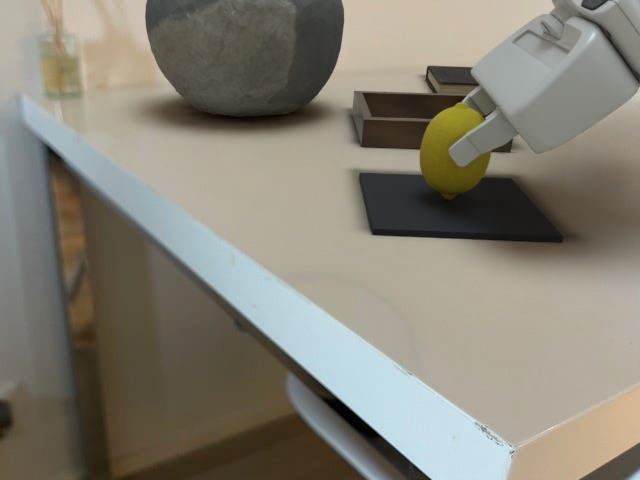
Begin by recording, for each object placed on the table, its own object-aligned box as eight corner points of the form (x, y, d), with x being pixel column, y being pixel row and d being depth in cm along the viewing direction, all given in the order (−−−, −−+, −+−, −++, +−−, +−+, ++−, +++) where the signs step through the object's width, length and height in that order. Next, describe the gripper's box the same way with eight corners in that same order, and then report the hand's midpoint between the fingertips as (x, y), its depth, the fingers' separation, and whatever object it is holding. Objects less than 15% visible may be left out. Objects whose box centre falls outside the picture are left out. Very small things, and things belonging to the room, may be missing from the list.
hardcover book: (601, 104, 94) (605, 88, 93) (436, 98, 97) (438, 81, 96) (568, 84, 108) (571, 70, 107) (425, 79, 111) (427, 64, 110)
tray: (476, 118, 85) (480, 94, 84) (510, 152, 71) (516, 124, 70) (352, 114, 86) (354, 90, 85) (361, 146, 72) (363, 119, 71)
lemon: (494, 209, 54) (512, 108, 50) (429, 212, 53) (443, 111, 49) (464, 187, 58) (479, 94, 55) (404, 190, 58) (415, 96, 54)
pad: (510, 183, 61) (511, 177, 61) (562, 242, 49) (564, 236, 49) (359, 177, 62) (359, 172, 62) (372, 234, 50) (372, 228, 50)
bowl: (157, 137, 74) (150, -10, 67) (144, 94, 95) (138, -21, 88) (365, 130, 79) (378, -8, 72) (309, 90, 100) (315, -19, 93)
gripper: (548, -20, 56) (415, 92, 62) (632, -5, 38) (434, 151, 44) (589, 38, 58) (456, 142, 63) (690, 78, 40) (491, 219, 45)
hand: (447, 146), depth 54 cm, fingers closed on lemon, 5 cm apart
